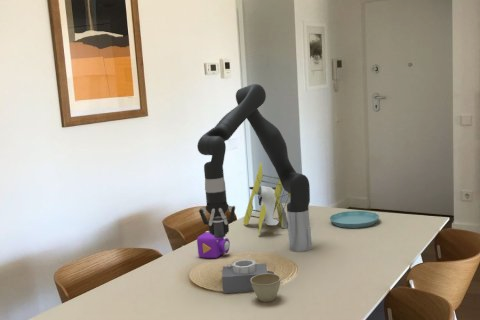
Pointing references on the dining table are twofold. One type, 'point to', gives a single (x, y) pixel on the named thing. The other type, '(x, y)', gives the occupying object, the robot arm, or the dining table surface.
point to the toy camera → (212, 245)
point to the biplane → (267, 202)
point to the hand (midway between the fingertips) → (219, 233)
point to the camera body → (241, 275)
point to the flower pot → (266, 286)
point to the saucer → (354, 219)
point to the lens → (218, 227)
